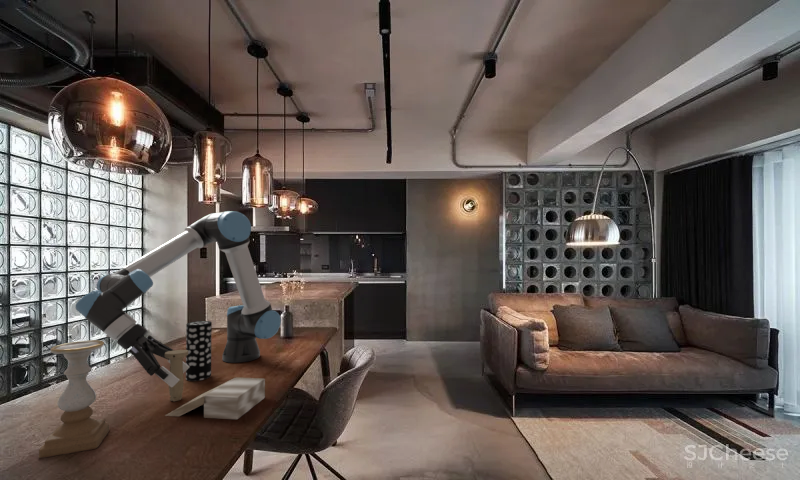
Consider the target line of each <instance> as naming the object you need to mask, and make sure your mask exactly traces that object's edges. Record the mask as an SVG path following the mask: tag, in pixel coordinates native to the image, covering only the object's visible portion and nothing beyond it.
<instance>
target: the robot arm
mask: <svg viewBox="0 0 800 480" xmlns="http://www.w3.org/2000/svg"><path fill="white" fill-rule="evenodd" d="M251 232H252V224H251V221H250V219H249V218H248V217H247V216H246V215H245V214H244V213H242V212H239V211H233V210H231V211H230V210H227V211H220V212H212V213H209V214H207V215H205V216H203V217H202V218H200V219H198V220H197V221H195V222H193V223H192V224H190V225H188V226H186V227H185V228H184V231H183V232H182V233H180V234H178V235H177V236H175V237H173V238H172V239H170V240H168V241H167V242H165V243H163V244H161V245H160V246H158V247H156V248H155V249H152V250H151V251H149V252H148V253H145V254H144V255H142V256H141V257H139V258H136V260H134V261H132V262H130V263H129V264H127V265H126V266H123V267H122V268H121V269H119V270H116V271H115V272H113V273H109V274H106V275H103V276H101V277H100V278H99V279H98V280H97V282H96V289H94V290H91V291H90V292H88V293H86V294H85V295H84V296H82V297H81V298H80V299H79V300H78V301H77V302H76V303H75V306H74V307H75V308H74V309H75V310H76V311H77V312H79V314H80V315H82V316H83V317H84V318H85V320H87V321H89V323H91V324H93V325H94V326H95V327H96V328H98V329H99V330H100V331H102V332H103V333H104V334H105V335H106V338H110V339H112V340H113V341H116V343H117V345H119V346H120V347H121V348H122V349H124V350H125V351H127V350H128V353H130V354H131V356H133V357H134V358H135V359H136V361H138V363H139V364H140V366H142V368H143V369H144V370H145V371H146V372H147V374H148V375H149V376H151V377H152V376H153V375H155V376H157V377H158V378H160V380H162V381H163V382H165V384H167V385H168V387H169V386H170V387H173V386H174V385H175V384H176V383H177V382H178V381H179V380H180V379H178V378H177V377H176V376H175V375H173V374H172V373H171V372H170V370H169V369H168V368H166V367H165V366H163V365H162V366H161V364H160V363H159V361H158V359H157V358H156V356H158V357H160V358H163V359H165V360H167V362H168V364H170V360H169V359H167V358H165V352H168V351H173V350H174V349H173V348H172V347H169V346H168V345H166V344H164V343H163V342H161V341H159V340H157V339H155V338H154V337H153V336H152V335H148V336H145V335H146V334H147V331H148V330H147V329H146V328H145V327H144V326H142V325H141V324H140V323H137V320H135V319H134V318H133V317H132V316H131V315H129V314H128V313H127V312H125V311H124V309H125V308H127V307H128V306H129V305H131V304H132V303H133V302H135V301H136V300H138V298H140V297H141V296H142V295H144V294H146V293H147V292H148V291H149V290H150V289H151V288H152V287H153V285H154V281H153V280H152V278H151V277H153V276H155V275H156V274H158V273H159V272H160V271H162V270H164V269H166V268H167V267H169V266H170V265H172V264H173V263H175V262H176V261H178V260H180V259H182V258H183V257H184V256H186V255H187V254H189V253H190V252H193V251H194V250H195V249H197V248H198V249H202V248H204V247H205V246H207V245H209V244H213V243H217V246H218V250H219V251H221V252H223V253H225V256H226V257H225V258H226V259H227V262H228V265H229V268H230V271H231V273H232V277H233V280H234V282H235V286H236V289H237V291H238V292H237V293H239V297H240V300H241V303H242V304H241V305H235V306H233V305H231V306H229V307H228V308H227V312H226V344H225V346H224V349H223V353H222V361H223V362H225V363H233V364H234V363H238V364H239V363H246V362H251V361H255V360H257V359H260V356H261V350H260V348H259V345H258V341H257V339H262V340H265V339H266V340H267V339H271V338H272V337H274V336H275V335H276V334H277V333H278V331H279V328H280V327H281V323H282V318H281V315H280V314H279V312H277V311H276V310H274V309H273V307H272V305H271V301H270V300H266V299H265V295H264V293H263V289H262V286H261V284H260V280H259V276H258V274H257V271H256V268H255V265H254V261H253V259H252V256H251V253H250V250H249V249H250V248H249V247H248V246H249V244H250V241H251V240H250V235H251ZM256 338H257V339H256ZM155 355H156V356H155ZM188 368H189V366H188V365H187V364H186V361H185V362H184V361H183V374H184V373H186V370H187V369H188Z"/></svg>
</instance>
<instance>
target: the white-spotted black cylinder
mask: <svg viewBox="0 0 800 480" xmlns="http://www.w3.org/2000/svg"><path fill="white" fill-rule="evenodd" d="M212 323H213V322H212V321H209V320H201V321H192V322H188V323H187V322H186V324H185V325H186V326H185V327H186V329H185V330H186V331H185V332H186V334H185V337H186V338H185V340H186V342H185V346H186V347H185V348H186V349H185V350H188V355H187V356H186V357H185V363H186V364H187V365H188V366H189V368H188V369H187V370H186V371H185V380H186V381H189V382H198V381H204V380H207V379H209V378H211V377H212V332H213V331H212V327H213V326H212V325H213V324H212Z"/></svg>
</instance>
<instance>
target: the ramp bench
mask: <svg viewBox="0 0 800 480" xmlns="http://www.w3.org/2000/svg"><path fill="white" fill-rule="evenodd" d="M265 387H266V378H263V377H262V378H259V377H257V378H256V377H234V378H232V379H229V380H227V381H225V382H223V383H222V384H220V385H217V386H216V387H214V388H211V389H209V390H208V391H205V392H203V393H202V394H199V395H198V396H196V397H195V398H193V399H191V400H189V401H187V402H186V403H184V404H182V405H180V406H179V407H177V408H176V409H174V410H172V411H171V412H168V413H167V414H165V415H164V416H165V417H167V416H168V417H181V416H183V415H185V414H186V413H189V412H191V411H192V410H195V409H197V408H199V407H200V406H203V418H204V419H206V418H207V419H224V420H238V419H240V418H241V417H242V416H244V415H245V414H246V413H248V412H249V411H250V410H252V408H254V407H255V406H256V405H258V404H259V403H260V402H262V400H264V399H265V398H266V391H265V390H266V388H265Z"/></svg>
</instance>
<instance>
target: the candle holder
mask: <svg viewBox="0 0 800 480" xmlns="http://www.w3.org/2000/svg"><path fill="white" fill-rule="evenodd" d="M104 345H105V342H104V341H103V340H100V339H99V340H98V339H94V340H93V339H91V340H90V339H89V340H79V341H71V342H65V343H61V344H58V345H54V346H52V347H51V348H50V353H52V354H54V355H63V357H64V358H65V359H66V360H67V362H68V366H67V368H66V369H65V371H63V375H64V376H66V378H67V379H68V384H67V385H66V387H65V389H64V390H63V392H62V393H60V396H59V397H58V400H57V407H58V408H59V409H60V410H61V411H64V412H62V414H61V415H60V421H61V423H62V424H60V425H59V426H58V427H57V428H56V429H55V430H53V432H52V433H51V434H50V435H48V437H47V438H46V440H45V441H44V444H43V445H42V446H41V447H40V448H39V450H38V459H44V458H50V457H55V456H57V457H58V456H63V455H68V454H75V453H79V452H86V451H90V450H95V449H97V448H98V447H99V446H100V445H101V443H102V442H103V440H104V439H105V437H106V436H107V435H108V433H109V431H110V422H106V419H105V418H96V419H95V418H92V417H91V416H92V415H94V410H93V408H92V407H90V406H91V405H92V404H94V402H95V401H96V399H97V393H96V391H95V389H94V388H93V387H92V386H91V385H90V384H89V382H88V380H87V377H88V376H89V374H90V371H92V367H90V365H89V363H88V359H89V357H90V355H92V352H93V351H94V350H98V349H100V348H103V347H104Z"/></svg>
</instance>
